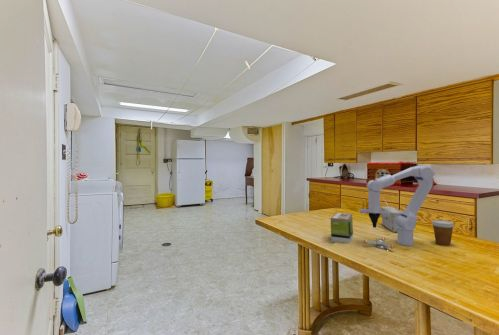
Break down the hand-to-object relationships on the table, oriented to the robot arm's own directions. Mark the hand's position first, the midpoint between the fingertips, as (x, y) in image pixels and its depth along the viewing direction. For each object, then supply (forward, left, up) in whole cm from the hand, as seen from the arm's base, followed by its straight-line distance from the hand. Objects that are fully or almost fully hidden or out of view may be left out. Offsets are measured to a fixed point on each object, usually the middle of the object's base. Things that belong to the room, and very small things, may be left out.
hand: (374, 227), depth 134 cm
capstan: (+6, +4, -9) cm, 11 cm away
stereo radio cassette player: (-41, +6, -10) cm, 43 cm away
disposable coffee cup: (-20, +31, -10) cm, 38 cm away
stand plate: (+5, +3, -10) cm, 11 cm away
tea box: (0, -17, -10) cm, 20 cm away
